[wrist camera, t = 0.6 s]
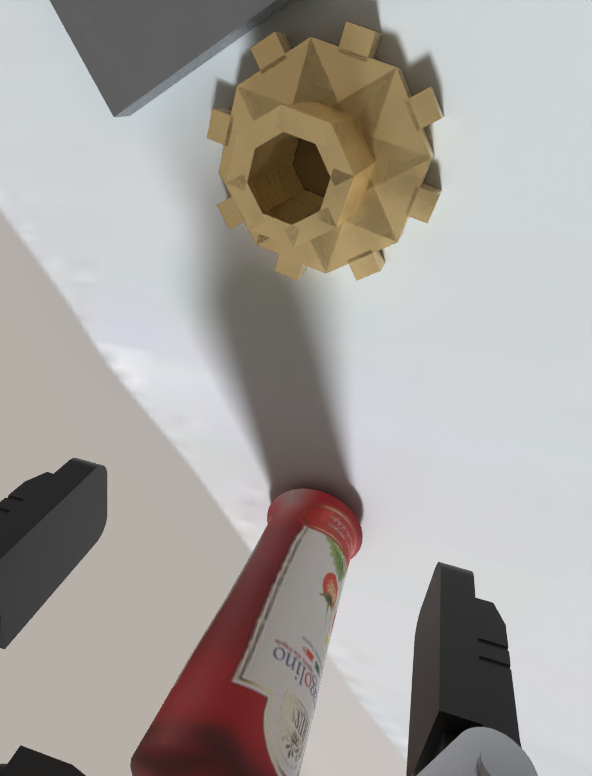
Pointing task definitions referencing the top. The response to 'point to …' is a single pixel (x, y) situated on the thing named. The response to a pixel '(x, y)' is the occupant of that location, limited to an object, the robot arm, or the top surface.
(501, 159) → the top surface
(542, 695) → the top surface
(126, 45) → the carrier plate
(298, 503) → the liquor
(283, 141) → the gear
